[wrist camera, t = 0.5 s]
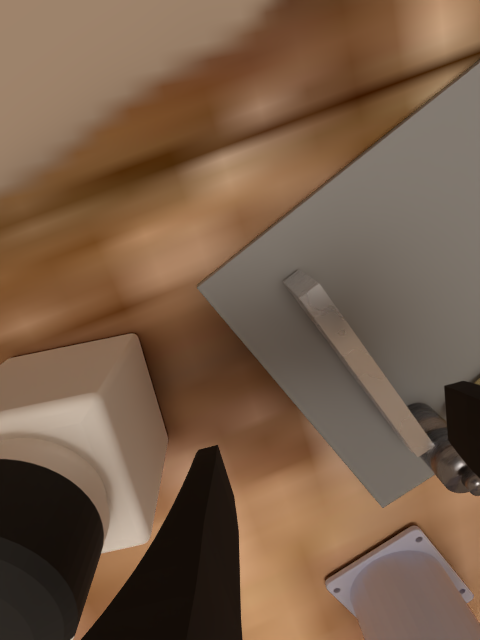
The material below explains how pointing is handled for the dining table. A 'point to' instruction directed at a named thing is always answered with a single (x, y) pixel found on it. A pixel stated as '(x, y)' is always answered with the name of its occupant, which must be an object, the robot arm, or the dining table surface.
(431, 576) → the robot arm
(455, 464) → the swing leaf
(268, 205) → the dining table surface
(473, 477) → the fixed leaf
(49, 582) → the medicine bottle
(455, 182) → the board
